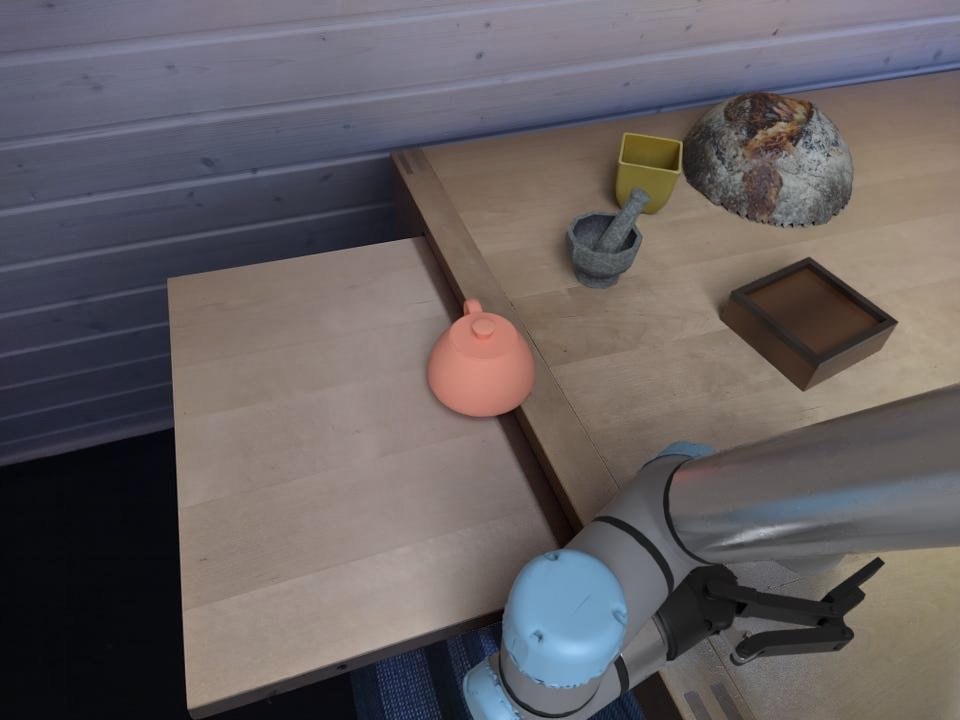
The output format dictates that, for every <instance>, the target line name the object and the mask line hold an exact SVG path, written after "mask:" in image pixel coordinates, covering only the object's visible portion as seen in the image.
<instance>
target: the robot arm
mask: <svg viewBox="0 0 960 720" xmlns="http://www.w3.org/2000/svg"><path fill="white" fill-rule="evenodd" d="M957 547H960V381H959V382H956V383H952V384H948V385H945V386H941V387H939V388H935V389H931V390H927V391H924V392H921V393H920V392H919V393H918V394H914V395H909V396H907V397H903V398H899V399H896V400H893V401H889V402H886V403H882V404H879V405H876V406H875V405H874V406H871V407H868V408H865V409H861V410H858V411H854V412H850V413H847V414H844V415H840V416H837V417H832V418H830V419H826V420H822V421H819V422H815V423H812V424H809V425H804V426H802V427H801V426H800V427H798V428H794V429H791V430H787V431H784V432H780V433H777V434H774V435H771V436H766V437H763V438H760V439H756V440H752V441H749V442H745V443H742V444H739V445H735V446H732V447H731V446H730V447H727V448H724V449H721V450H716V449H714V448H712V447H711V446H709V445H706V444H704V443H698V444H696V443H693V442H692V441H690V440H680V441H679V440H678V441H675V442H673V443H670V444H669V445H667V446H666V447H664V448H663V449H662V450H661V451H660V452H658V454H656V455H655V456H654V457H652V458H650V459H648V460H647V461H646V462H644V463H643V464H642V465H641V466H640V469H638V471H637V472H636V473H635V475H634V476H633V477H631V479H629V481H627V483H626V484H625V485H624V486H623V487H622V488H621V489H620V490H619V491H618V493H617V494H615V496H613V497H612V498H611V499H610V501H609V502H607V504H606V505H605V506H603V508H602V509H601V510H600V511H599V512H598V513H597V514H596V515H595V516H594V517H593V518H592V519H591V520H590V521H589V522H588V523H587V524H586V525H585V526H584V527H583V528H581V530H580V531H579V532H578V533H577V534H576V535H575V536H574V537H573V538H572V539H571V540H570V541H569V542H568V543H567V544H566V545H565V546H564V547H562V548H558V549H556V550H553V551H547V552H545V553H543V554H539V555H537V556H535V557H534V558H532V559H530V560H529V561H528V562H527V563H526V564H525V565H524V566H523V567H522V568H521V570H520V571H519V572H518V574H517V575H516V577H515V580H514V581H513V584H512V586H511V589H510V591H509V592H508V596H507V597H508V598H507V599H508V600H506V602H505V604H504V612H503V614H502V620H501V623H502V625H501V626H502V627H501V629H502V635H501V643H500V646H499V651H497V652H496V653H493V654H488V655H486V656H485V657H484V659H483V660H482V661H481V662H479V663H478V664H476V665H475V666H474V667H473V668H471V669H470V670H469V671H467V673H465V674H464V677H463V680H462V692H463V696H464V699H465V702H466V705H467V707H468V709H469V712H470V714H471V717H472V719H473V720H588V719H589V718H591V717H592V716H593V715H595V714H596V713H598V712H599V711H601V710H602V709H604V708H605V707H606V706H608V705H609V704H610V703H612V702H613V701H615V700H616V699H618V698H620V697H622V696H623V695H624V694H626V693H627V692H628V691H630V690H631V689H633V688H634V687H636V686H637V685H639V684H640V683H642V682H643V681H645V680H646V679H648V678H649V677H651V676H652V675H655V673H657V672H658V671H660V670H661V669H663V668H664V667H665V666H666V663H667V662H672V661H675V660H677V658H679V657H680V656H682V655H683V654H685V653H686V652H687V651H689V650H690V649H692V648H693V647H695V646H697V645H698V644H699V643H701V642H702V641H704V640H705V639H706V638H708V637H711V636H720V638H721V639H722V641H723V642H724V643H725V645H726V647H727V648H728V650H729V651H730V654H729V661H730V663H731V664H732V665H733V666H735V667H742V666H745V665H746V664H748V663H750V662H751V661H754V660H756V659H757V658H769V657H780V656H795V655H808V654H809V655H810V654H823V653H835V652H840V651H841V650H843V649H844V648H845V647H847V646H848V644H850V643H851V641H853V640H854V639H855V632H854V630H853V629H852V628H851V627H850V626H848V625H846V622H845V619H844V617H845V616H846V615H847V614H849V613H850V612H851V611H852V610H854V609H856V608H857V607H858V606H859V605H860V604H861V603H862V602H863V601H864V600H865V598H866V595H867V594H866V593H865V592H864V591H863V590H862V589H861V588H860V586H862V585H863V584H865V583H866V582H867V581H869V580H870V579H871V578H872V577H873V576H875V575H876V574H877V572H879V571H880V570H881V569H882V568H883V566H885V564H886V562H885V561H884V560H883V559H882V558H881V557H880V556H876V557H875V558H874V559H872V560H871V561H870V562H868V563H866V564H865V565H864V566H863V567H862V568H860V569H858V570H857V571H856V572H855V573H853V574H852V575H850V576H849V577H847V578H846V579H844V580H843V581H842V582H840V583H839V584H837V585H836V586H835V587H833V588H832V589H830V590H829V591H828V592H827V593H826V594H825V595H824V596H823V597H822V598H821V599H820V600H815V599H808V598H802V597H796V596H790V595H789V596H788V595H784V594H777V593H772V592H771V593H770V592H764V591H759V590H758V589H757V588H755V587H751V586H747V585H746V586H745V585H739V582H738V578H739V577H738V576H737V575H736V574H735V573H734V572H733V570H732V569H730V568H729V567H727V566H726V565H731V564H744V563H757V562H758V563H759V562H770V561H771V562H773V561H775V560H785V559H798V558H812V557H825V556H838V555H845V556H849V555H861V554H863V555H864V554H877V553H889V552H903V551H916V550H928V549H942V548H943V549H944V548H957ZM735 618H740V619H748V618H756V619H761V620H762V619H763V620H769V621H775V622H780V623H785V624H794V625H797V626H805V627H807V628H805V627H803V628H793V629H792V628H789V629H776V630H766V631H760V632H757V633H755V634H754V633H753V632H752V631H751V630H748V629H743V630H739V629H737V628H735V627H734V626H733V625H734V621H735Z"/></svg>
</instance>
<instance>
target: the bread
mask: <svg viewBox="0 0 960 720" xmlns="http://www.w3.org/2000/svg"><path fill="white" fill-rule="evenodd" d="M683 143H684V144H683V148H682V149H683V152H684V155H683V156H684V157H683V160H682V164H683V172H684V173H685V174H684V175H685V177H686V178H687V179H686V182H687V183H688V184H690V186H691V187H693V188H695V189H696V190H698V191H699V192H701V193H702V194H703V195H704V196H706V197H707V198H709V201H711V202H712V204H714V206H718V207H719V206H721V204H723V207H725V208H726V209H727V211H728V212H729V213H732V214H734V215H736V213H737V212H738V213H739V215H740V218H741V219H744V218H745V217H746V216H747V217H748V220H749V221H750V222H754V221H756V223H757V224H759V223H760V222H763V224H764V225H766V224H767V223H768V225H770V226H773V225H774V224H775V227H781V225H782V227H783V228H784V229H785V228H787V226H789V225H790V224H792V225H793V226H792V227H793V229H796V227H798V225H799V224H800V225H801V224H803V226H804V227H809V226H810V225H811V224H812V223H813V222H814V223H813V226H821V225H825V224H828V223H829V222H830V221H831V220H832V216H833V215H835V216H838V215H839V214H840V211H841V209H842V208H843V210H845V209H846V207H847V206H846V205H847V204H849V201H850V200H851V196H852V194H853V181H854V174H855V172H854V171H855V167H854V163H853V157H852V153H851V149H850V147H849V146H848V143H847V141H846V139H845V137H844V134H843V133H842V132H841V130H840V129H839V127H837V125H836V124H835V122H834V121H832V120H831V118H830V117H829V116H828V115H827V114H826V113H825V112H824V111H822V109H821V108H820V107H819V106H818V105H817V104H816V103H813V102H812V101H809V100H803V99H796V98H792V97H789V96H783V95H780V94H778V93H774V92H764V91H763V92H762V91H756V92H755V91H752V92H746V93H742V94H738V95H734V96H732V97H730V98H728V99H725V100H723V101H721V102H720V103H717V104H716V105H714V106H713V107H712V108H711V109H709V111H706V113H704V115H703V116H702V117H701V118H700V119H699V120H698V121H697V123H696V124H694V126H693V127H692V128H691V131H689V133H688V134H687V135H686V137H685V138H684V141H683Z"/></svg>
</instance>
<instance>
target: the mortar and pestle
mask: <svg viewBox="0 0 960 720" xmlns="http://www.w3.org/2000/svg"><path fill="white" fill-rule="evenodd" d="M650 200H651V197H650V196H649V194H648V193H646V192H645V191H643V190H641V189H639V188H633V189H632V191H631V192H630V197H629V199H628V200H627V202H626V203H625V204H624V206H623V207H622V208H620V210H619V211H618V212H617V213H616V212H609V211H596V210H595V211H594V210H591V211H588V212H586V213H583V214H580V215H578V216H575V217H573V219H572V220H571V222H570V224H569V226H568V227H567V230H566V233H565V250H566V251H567V253H568V255H569V258H570V259H571V262H572V263H573V265H574V268H573V269H574V270H573V273H574V276H575V277H576V279H577V281H578V283H581V284H582V285H584V286H586V287H588V288H590V289H598V290H599V289H602V290H606V289H608V288H610V287H613V286H615V285H617V283H618V280H619V278H620V275H621V274H623V273H626V272H627V271H628V270H629V269H630V268H631V267H632V265H633V264H634V261H635V259H636V257H637V255H638V252H639V250H640V248H641V245H642V243H643V242H642V241H643V238H644V237H643V234H642V232H641V231H640V229H639V228H638V226H637V224H636V222H637V220H638V218H639V216H640V215H641V213H642V212H641V211H642V209H643V207H644V206H645V205H646V204H648V203H649V201H650Z"/></svg>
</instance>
